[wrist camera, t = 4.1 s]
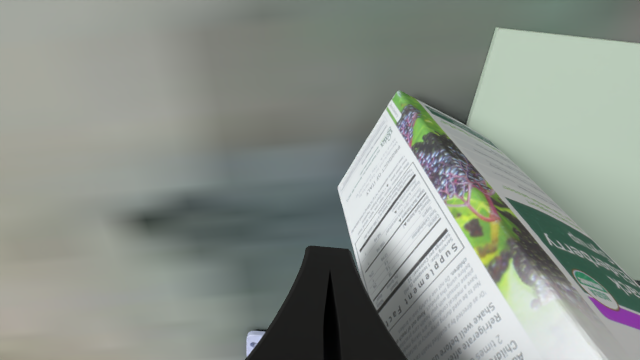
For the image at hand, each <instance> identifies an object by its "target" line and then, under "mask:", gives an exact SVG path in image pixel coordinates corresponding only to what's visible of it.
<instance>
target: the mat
mask: <svg viewBox="0 0 640 360" xmlns="http://www.w3.org/2000/svg"><path fill="white" fill-rule="evenodd" d="M466 126H468V127H470V128H471V129H473V130H475V131H477V132H478V133H480V134H481V135H483V136H485V137H486V138H488V139H489V140H490V141H491V142H492V143H493V144H494V145H495V146H496V147H498V148H499V149H500V150H501V151H502V152H503V153H504V154H505V155H506V156H507V157H508V158H509V159H510V160H511V161H513V162H514V163H515V164H516V165H517V166H518V167H519V168H520V169H521V170H522V171H523V172H524V173H525V174H526V175H527V176H528V177H529V178H530V179H531V180H532V181H534V182H535V183H536V184H537V185H538V186H539V187H540V188H541V189H542V190H543V191H544V192H545V193H546V194H547V195H548V196H549V197H550V198H551V199H552V200H553V201H554V202H555V203H556V204H557V205H558V206H559V207H560V208H561V209H562V210H563V211H564V212H565V213H566V214H567V215H568V216H569V217H570V218H571V219H572V220H573V221H574V222H575V223H576V224H577V225H578V226H579V227H580V228H581V229H582V230H583V231H584V232H585V233H586V234H587V235H588V236H589V237H590V238H591V239H593V240H594V241H595V242H596V243H597V244H598V245H599V246H600V247H601V248H602V249H603V250H604V251H605V252H606V253H607V254H608V255H609V256H610V257H611V258H612V259H613V260H614V261H615V262H616V263H617V264H618V265H619V266H620V267H621V268H622V269H623V270H624V271H625V272H626V273H627V274H628V275H629V276H630V277H631V278H632V279H633V280H638V281H640V43H633V42H624V41H615V40H606V39H597V38H588V37H578V36H569V35H560V34H551V33H542V32H533V31H524V30H515V29H506V28H497V27H496V29H495V32H494V35H493V39H492V42H491V45H490V49H489V52H488V55H487V58H486V62H485V65H484V68H483V71H482V75H481V78H480V81H479V84H478V88H477V91H476V94H475V97H474V101H473V104H472V107H471V110H470V114H469V117H468V120H467V124H466Z"/></svg>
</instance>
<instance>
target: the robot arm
mask: <svg viewBox="0 0 640 360" xmlns="http://www.w3.org/2000/svg"><path fill="white" fill-rule="evenodd" d="M245 360H408V359H407V358H406V356H405V355H404V353H403V352H402V351H401V349H400V348H399V346H398V345H397V343H396V342H395V340H394V339H393V337H392V336H391V334H390V332H389V331H388V329H387V327H386V326H385V324H384V322H383V321H382V319H381V317H380V316H379V314H378V312H377V310H376V308H375V307H374V305H373V303H372V301H371V299H370V297H369V295H368V293H367V291H366V289H365V287H364V285H363V282H362V280H361V278H360V276H359V273H358V271H357V268H356V266H355V263H354V260H353V257H352V254H351V252H350V251H349V250H348V249H343V248H331V247H320V246H308V247H307V248H306V250H305V255H304V259H303V262H302V265H301V268H300V270H299V273H298V275H297V277H296V279H295V282H294V284H293V286H292V288H291V290H290V292H289V294H288V296H287V298H286V299H285V301H284V303H283V305H282V306H281V308H280V310H279V311H278V313H277V315H276V317H275V318H274V320H273V321H272V323H271V324H270V326H269V328H268V329H267V331H266V332H264V331H251V332H249V333H248V336H247V358H246V359H245Z"/></svg>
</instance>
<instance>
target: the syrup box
mask: <svg viewBox="0 0 640 360" xmlns="http://www.w3.org/2000/svg"><path fill="white" fill-rule="evenodd" d="M338 192H339V195H340V200H341V204H342V207H343V210H344V214H345V218H346V222H347V226H348V230H349V234H350V238H351V241H352V245H353V249H354V253H355V257H356V261H357V264H358V268H359V272H360V277H361V280H362V282H363V285H364V287H365V289H366V291H367V293H368V295H369V297H370V299H371V301H372V303H373V305H374V307H375V308H376V310H377V312H378V314H379V316H380V317H381V319H382V321H383V322H384V324H385V326H386V327H387V329H388V331H389V332H390V334H391V336H392V337H393V339H394V340H395V342H396V343H397V345H398V346H399V348H400V349H401V351H402V352H403V353H404V355H405V356H406V358H407V359H408V360H640V286H639V285H638V284H637V283H636V282H635V281H634V280H633V279H632V278H631V277H630V276H629V275H628V274H627V273H626V272H625V271H624V270H623V269H622V268H621V267H620V266H619V265H618V264H617V263H616V262H615V261H614V260H613V259H612V258H611V257H610V256H609V255H608V254H607V253H606V252H605V251H604V250H603V249H602V248H601V247H600V246H599V245H598V244H597V243H596V242H595V241H594V240H593V239H591V238H590V237H589V236H588V235H587V234H586V233H585V232H584V231H583V230H582V229H581V228H580V227H579V226H578V225H577V224H576V223H575V222H574V221H573V220H572V219H571V218H570V217H569V216H568V215H567V214H566V213H565V212H564V211H563V210H562V209H561V208H560V207H559V206H558V205H557V204H556V203H555V202H554V201H553V200H552V199H551V198H550V197H549V196H548V195H547V194H546V193H545V192H544V191H543V190H542V189H541V188H540V187H539V186H538V185H537V184H536V183H535V182H534V181H532V180H531V179H530V178H529V177H528V176H527V175H526V174H525V173H524V172H523V171H522V170H521V169H520V168H519V167H518V166H517V165H516V164H515V163H514V162H513V161H511V160H510V159H509V158H508V157H507V156H506V155H505V154H504V153H503V152H502V151H501V150H500V149H499V148H498V147H496V146H495V145H494V144H493V143H492V142H491V141H490V140H489V139H488V138H486V137H485V136H483V135H481V134H480V133H478V132H477V131H475V130H473V129H471V128H470V127H468V126H466V125H464V124H463V123H461V122H459V121H457V120H455V119H454V118H452V117H450V116H448V115H446V114H444V113H442V112H440V111H439V110H437V109H435V108H433V107H431V106H429V105H427V104H425V103H423V102H421V101H419V100H417V99H415V98H413V97H411V96H409V95H407V94H405V93H404V92H402V91H398V92H396V94H395V95H394V97H393V98H392V100H391V101H390V103H389V105H388V106H387V108H386V109H385V111H384V112H383V114H382V116H381V117H380V119H379V121H378V122H377V124H376V125H375V127H374V129H373V130H372V132H371V133H370V135H369V136H368V138H367V140H366V141H365V143H364V145H363V146H362V148H361V149H360V151H359V153H358V154H357V156H356V158H355V159H354V161H353V163H352V164H351V166H350V168H349V169H348V171H347V172H346V174H345V176H344V177H343V179H342V181H341V182H340V184H339V186H338Z"/></svg>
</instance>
